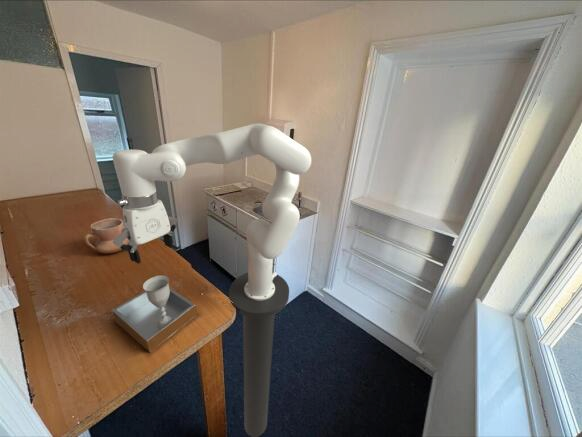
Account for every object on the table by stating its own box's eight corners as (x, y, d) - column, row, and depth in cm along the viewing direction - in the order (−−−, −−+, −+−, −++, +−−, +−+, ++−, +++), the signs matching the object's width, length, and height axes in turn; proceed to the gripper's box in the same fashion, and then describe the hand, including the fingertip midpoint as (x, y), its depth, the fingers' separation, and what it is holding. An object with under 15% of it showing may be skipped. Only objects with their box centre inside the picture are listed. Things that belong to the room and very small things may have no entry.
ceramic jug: (129, 237, 125) (123, 213, 119) (138, 248, 117) (132, 223, 111) (86, 249, 113) (77, 223, 107) (93, 263, 105) (84, 235, 98)
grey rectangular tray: (163, 292, 92) (160, 281, 90) (196, 315, 84) (195, 304, 81) (115, 321, 79) (111, 310, 76) (150, 352, 70) (146, 341, 68)
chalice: (159, 336, 75) (149, 294, 67) (149, 325, 78) (138, 283, 70) (181, 322, 80) (173, 282, 72) (170, 312, 84) (162, 272, 76)
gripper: (111, 213, 52) (129, 274, 59) (179, 193, 66) (187, 244, 73) (95, 205, 55) (114, 263, 63) (163, 188, 69) (172, 237, 76)
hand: (153, 253), depth 68 cm, fingers open, 9 cm apart
